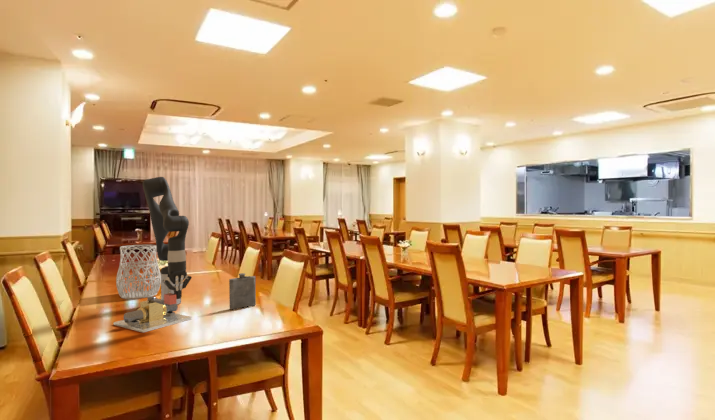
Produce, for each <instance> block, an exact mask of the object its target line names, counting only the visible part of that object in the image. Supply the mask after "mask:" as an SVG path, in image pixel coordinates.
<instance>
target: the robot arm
mask: <svg viewBox="0 0 715 420" xmlns="http://www.w3.org/2000/svg"><path fill="white" fill-rule="evenodd" d="M142 189H143V193H144V196H145V200H146V204H147V206H148V211H149V215H150V216H149V217H150V221H151V226H152V230H153V234H154V238H155V245H156V256H157V258H158V259H159V261H160V262H161V261H162V262H167V265H166V266H164V267H162V268H160V274H161V284H160V298H161V300H164V294H168V293H172V294H176V303H177V305H179V304H182V296H183V294H182V293H183V292H182V290H184V289H186V287H187V286H188V285H189V282H190V281H191V280H192V276H191V275H188V273H187V253H186V236H187V232H188V229H189V225H190V222H189V219H188V217H187V216H185V215H180V211H179V209H178V206H176V203H175V201H174V198H173V194H172V191H171V189H170V185H169V183H168V181H167V179H166V178H165V177H164V176H158V177H157V176H156V177H152V178H146V179H144V180H143V181H142ZM160 196H161V197H162V198H161V199H160V202H159V203H158V202H156V200H155V199H154V198H157V197H160ZM169 232H170V233H173V232H174V233H177V232H178V233H177V235H175V236H171V237H169V238H168V240H167V243H164V242H165V239H166V237H167V235H168V234H169Z"/></svg>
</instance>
